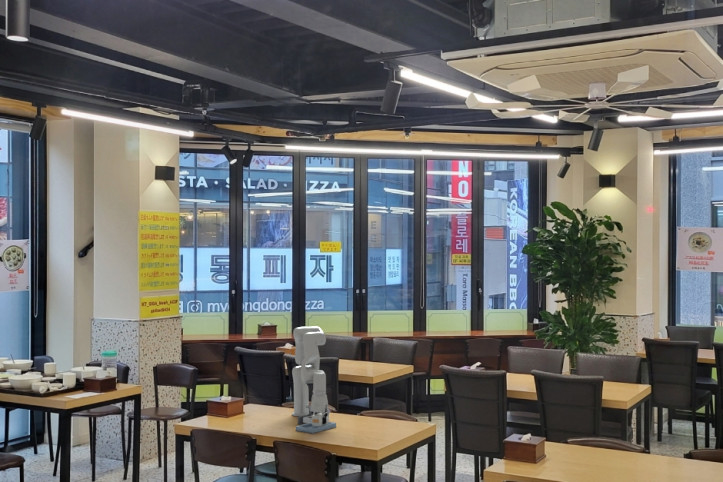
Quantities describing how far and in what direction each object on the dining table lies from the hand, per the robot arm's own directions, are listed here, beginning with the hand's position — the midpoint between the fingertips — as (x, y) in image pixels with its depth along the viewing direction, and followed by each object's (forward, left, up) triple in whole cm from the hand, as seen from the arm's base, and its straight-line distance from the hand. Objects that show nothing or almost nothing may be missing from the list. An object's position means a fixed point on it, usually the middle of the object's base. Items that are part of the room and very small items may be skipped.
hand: (320, 422), depth 480 cm
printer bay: (-5, -13, -3) cm, 14 cm away
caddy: (+3, 0, -1) cm, 4 cm away
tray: (+4, 0, -3) cm, 5 cm away
